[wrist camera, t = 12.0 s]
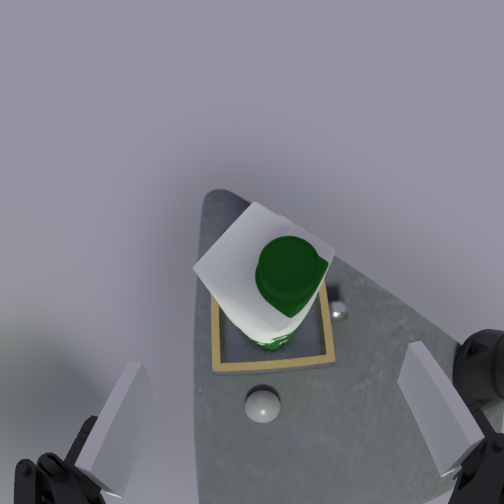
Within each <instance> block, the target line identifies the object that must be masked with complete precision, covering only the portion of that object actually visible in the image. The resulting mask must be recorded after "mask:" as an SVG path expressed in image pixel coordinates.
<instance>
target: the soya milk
mask: <svg viewBox="0 0 504 504" xmlns="http://www.w3.org/2000/svg"><path fill="white" fill-rule="evenodd" d="M335 253H336V252H335V250H334V249H333V248H332V247H330V246H328V245H327V244H326V243H324V242H322V241H321V240H319V239H318V238H316V237H315V236H313V235H312V234H310V233H309V232H307V231H305V230H304V229H302V228H301V227H299V226H298V225H296V224H294V223H293V222H292V221H291V220H289V219H287V218H286V217H284V216H283V215H277V214H276V213H274V212H272V211H271V210H269V209H267V208H266V207H264V206H262V205H261V204H259V203H257V202H256V201H254V202H253V203H252V204H251V205H250V206H249V207H248V208H247V209H246V210H245V211H244V212H243V213H242V214H241V216H240V217H239V218H238V219H237V220H236V221H235V222H234V223H233V224H232V225H231V226H230V227H229V228H228V229H227V231H226V232H225V233H224V234H223V235H222V236H221V237H220V238H219V239H218V240H217V241H216V242H215V244H214V245H213V246H212V247H211V248H210V249H209V250H208V251H207V252H206V253H205V255H204V256H203V257H202V258H201V259H200V260H199V261H198V262H197V263H196V265H195V266H194V267H193V269H194V271H195V272H196V273H197V275H198V276H199V278H200V279H201V280H202V282H203V283H204V284H205V286H206V287H207V288H208V290H209V291H210V293H211V294H212V295H213V297H214V298H215V299H216V301H217V302H218V303H219V305H220V307H221V308H222V310H223V311H224V312H225V314H226V315H227V317H228V318H229V319H230V321H231V322H232V323H233V325H234V326H235V327H236V328H237V329H238V330H240V331H241V332H242V333H244V334H245V335H246V336H248V337H249V338H250V339H252V340H253V341H255V342H256V343H258V344H259V345H262V346H264V347H266V348H268V349H270V350H273V351H275V350H276V349H277V348H279V347H280V346H281V345H282V344H284V343H285V342H286V341H287V340H288V339H289V338H290V337H291V336H292V335H293V334H294V333H295V332H296V330H297V329H298V328H299V327H300V325H301V324H302V323H303V321H304V319H305V318H306V316H307V314H308V312H309V310H310V308H311V306H312V304H313V302H314V300H315V298H316V296H317V293H318V291H319V289H320V287H321V284H322V282H323V280H324V278H325V275H326V273H327V271H328V269H329V266H330V264H331V262H332V260H333V257H334V255H335Z"/></svg>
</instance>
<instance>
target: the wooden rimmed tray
mask: <svg viewBox="0 0 504 504" xmlns="http://www.w3.org/2000/svg"><path fill="white" fill-rule="evenodd" d="M347 318H348V306H347V302H346V300H339V301H330V302H328V299H327V292H326V286H325V279H324V280H323V282H322V284H321V287H320V289H319V291H318V293H317V296H316V298H315V300H314V302H313V304H312V306H311V308H310V310H309V312H308V314H307V316H306V318H305V319H304V321H303V323H302V324H301V325H300V327H299V328H298V329H297V330H296V332H295V333H294V334H293V335H292V336H291V337H290V338H289V339H288V340H287V341H286V342H285V343H284V344H282V345H281V346H280V347H279V348H277V349H276V350H275V351H273V350H270V349H268V348H266V347H264V346H262V345H259V344H258V343H256V342H255V341H253V340H252V339H250V338H249V337H248V336H246V335H245V334H244V333H242V332H241V331H240V330H238V329H237V328H236V327H235V326H234V325H233V323H232V322H231V321H230V319H229V318H228V317H227V315H226V314H225V312H224V311H223V310H222V308H221V307H220V305H219V303H218V302H217V301H216V299H215V298H214V297H213V295H212V294H211V330H212V365H213V375H214V376H233V375H255V374H270V373H282V372H292V371H302V370H310V369H318V368H325V367H331V366H335V353H334V344H333V336H332V328H331V322H334V321H342V320H347Z"/></svg>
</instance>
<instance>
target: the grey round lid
mask: <svg viewBox="0 0 504 504" xmlns="http://www.w3.org/2000/svg"><path fill="white" fill-rule="evenodd" d="M245 410H246V413H247V415H248V416H249V417H250V418H251V419H252V420H253V421H256V422H259V423H266V422H269V421H272V420H273V419H275V418H276V417H277V415H278V414H279V411H280V402H279V399H278V398H277V396H276V395H275V394H273V393H272V392H270V391H266V390H260V391H256V392H254V393H253V394H251V395H250V396H249V397H248V399H247V400H246V403H245Z"/></svg>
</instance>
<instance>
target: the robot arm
mask: <svg viewBox="0 0 504 504" xmlns="http://www.w3.org/2000/svg"><path fill="white" fill-rule="evenodd" d="M397 383H398V385H399V387H400V389H401V391H402V393H403V395H404V397H405V399H406V401H407V403H408V405H409V407H410V409H411V411H412V413H413V415H414V417H415V419H416V421H417V424H418V426H419V428H420V430H421V432H422V434H423V437H424V439H425V441H426V443H427V446H428V448H429V450H430V453H431V455H432V457H433V460H434V462H435V464H436V467H437V469H438V472H439V474H440V477H442V476H444V475H446V474H448V473H450V472H452V471H454V470H455V469H456V468H457V467H458V466H459V465H460V464H461V466H462V469H461V470H460V471H459V472H458V473H457V474H456V475H455V476H454V477H453V479H452V480H455V479H456V478H457V477H458V479H457V482H456V485H455V487H454V490H453V493H452V495H451V498H450V500H449V503H448V504H504V434H502V433H496V432H495V431H494V429H493V428H492V426H491V425H490V423H489V421H488V420H487V418H486V417H485V415H484V413H483V412H482V410H485V409H488V408H490V407H492V406H494V405H496V404H498V403H500V402H501V401H503V400H504V331H501V330H492V329H486V330H482V331H479V332H477V333H474V334H473V335H471V336H470V337H469V338H468V339H467V340H466V341H465V342H464V344H463V345H462V347H461V348H460V350H459V352H458V355H457V358H456V361H455V366H454V373H453V384H454V386H453V385H452V383H451V382H450V380H449V379H448V378H447V376H446V375H445V373H444V372H443V370H442V369H441V367H440V366H439V365H438V363H437V362H436V360H435V359H434V358H433V356H432V355H431V353H430V352H429V351H428V349H427V348H426V347H425V345H424V344H423V343H422V341H417V342H413V343H409V344H408V348H407V351H406V355H405V358H404V362H403V365H402V368H401V371H400V374H399V378H398V380H397ZM157 399H158V398H157V396H156V394H155V392H154V390H153V388H152V385H151V383H150V381H149V378H148V376H147V374H146V371H145V369H144V367H143V364H142V363H138V362H129V363H128V364H127V366H126V368H125V370H124V372H123V373H122V375H121V377H120V378H119V380H118V382H117V384H116V386H115V387H114V389H113V391H112V393H111V395H110V397H109V398H108V400H107V402H106V404H105V406H104V408H103V409H102V411H101V413H100V415H99V417H97V416H91V417H90V418H88V419H87V420H86V421H85V422H84V424H83V426H82V428H81V430H80V432H79V433H78V435H77V438H76V439H75V441H74V442H73V444H72V446H71V448H70V450H69V452H68V454H67V456H66V458H65V460H64V461H62V460H61V459H60V458H59V457H58V456H57V455H56V454H53V453H45V454H43V455H41V457H40V458H39V459H38V461H37V465H35V464H34V463H33V462H32V461H31V460H29V459H22V460H20V461H19V462H18V463H17V465H16V469H15V483H14V504H106V503H105V501H104V499H103V497H102V495H101V494H100V491H101V489H103V490H104V491H105V492H106V493H108V494H110V495H113V496H117V497H120V498H123V495H124V492H125V489H126V486H127V483H128V480H129V477H130V474H131V471H132V468H133V465H134V462H135V460H136V457H137V454H138V451H139V448H140V445H141V443H142V440H143V437H144V434H145V431H146V429H147V426H148V423H149V420H150V418H151V415H152V413H153V410H154V407H155V405H156V402H157ZM42 496H43V499H42Z"/></svg>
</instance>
